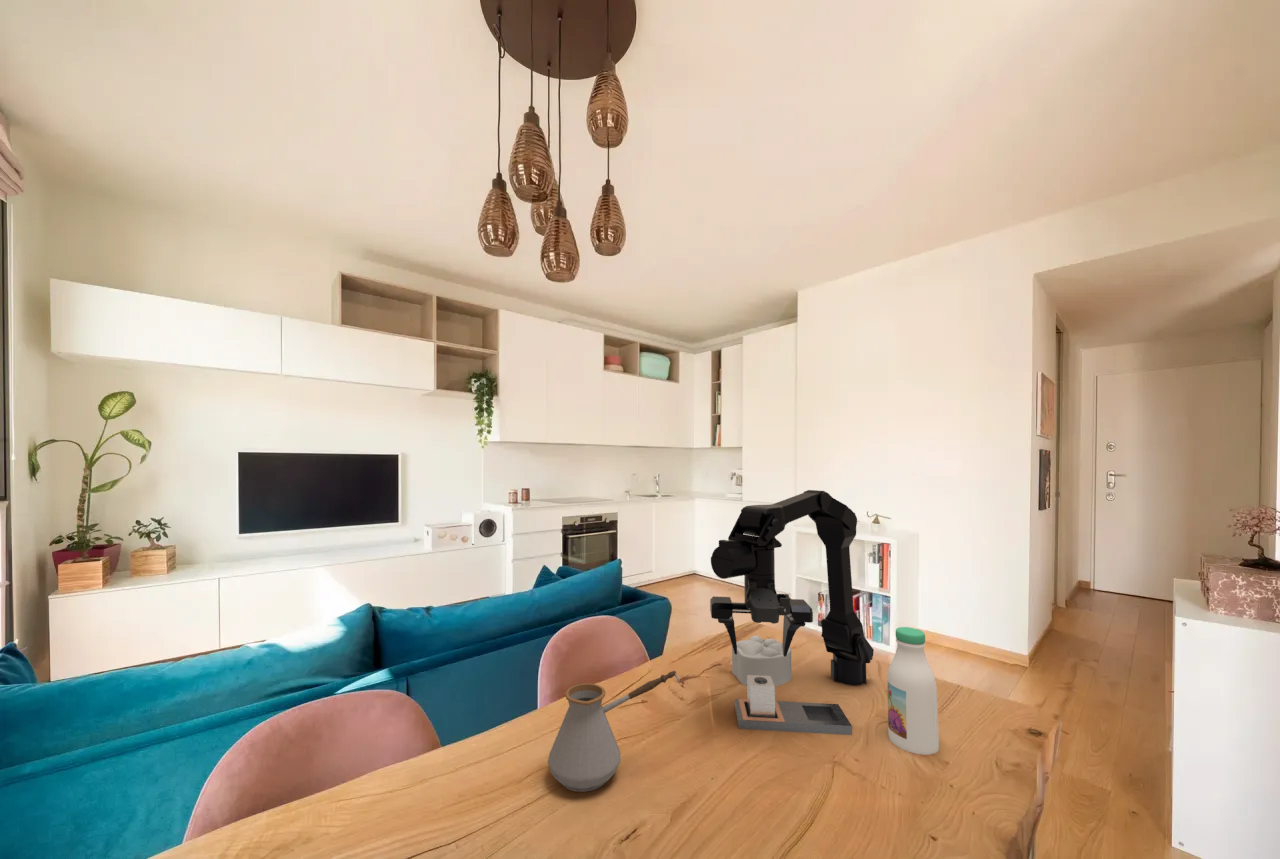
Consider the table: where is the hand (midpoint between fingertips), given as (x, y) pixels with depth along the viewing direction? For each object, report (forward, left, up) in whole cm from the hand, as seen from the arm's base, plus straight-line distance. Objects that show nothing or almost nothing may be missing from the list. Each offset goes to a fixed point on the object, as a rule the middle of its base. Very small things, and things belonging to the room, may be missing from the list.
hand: (759, 654), depth 94 cm
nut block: (0, 0, -12) cm, 12 cm away
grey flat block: (-6, 0, -13) cm, 14 cm away
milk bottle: (-26, +5, -13) cm, 29 cm away
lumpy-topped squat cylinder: (-4, -19, -13) cm, 23 cm away
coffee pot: (+25, +17, -13) cm, 33 cm away
